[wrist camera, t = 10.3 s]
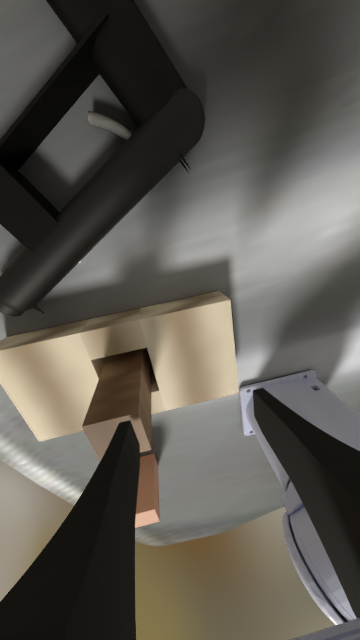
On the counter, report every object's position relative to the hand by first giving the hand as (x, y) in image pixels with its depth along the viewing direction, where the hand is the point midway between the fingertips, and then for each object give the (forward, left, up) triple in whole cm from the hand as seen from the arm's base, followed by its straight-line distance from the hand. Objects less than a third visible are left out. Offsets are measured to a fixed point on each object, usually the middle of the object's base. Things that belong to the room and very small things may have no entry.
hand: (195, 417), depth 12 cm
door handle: (+7, -17, -11) cm, 21 cm away
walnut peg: (+5, +1, -10) cm, 11 cm away
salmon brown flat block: (+9, +17, -10) cm, 22 cm away
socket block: (+5, +1, -10) cm, 11 cm away
